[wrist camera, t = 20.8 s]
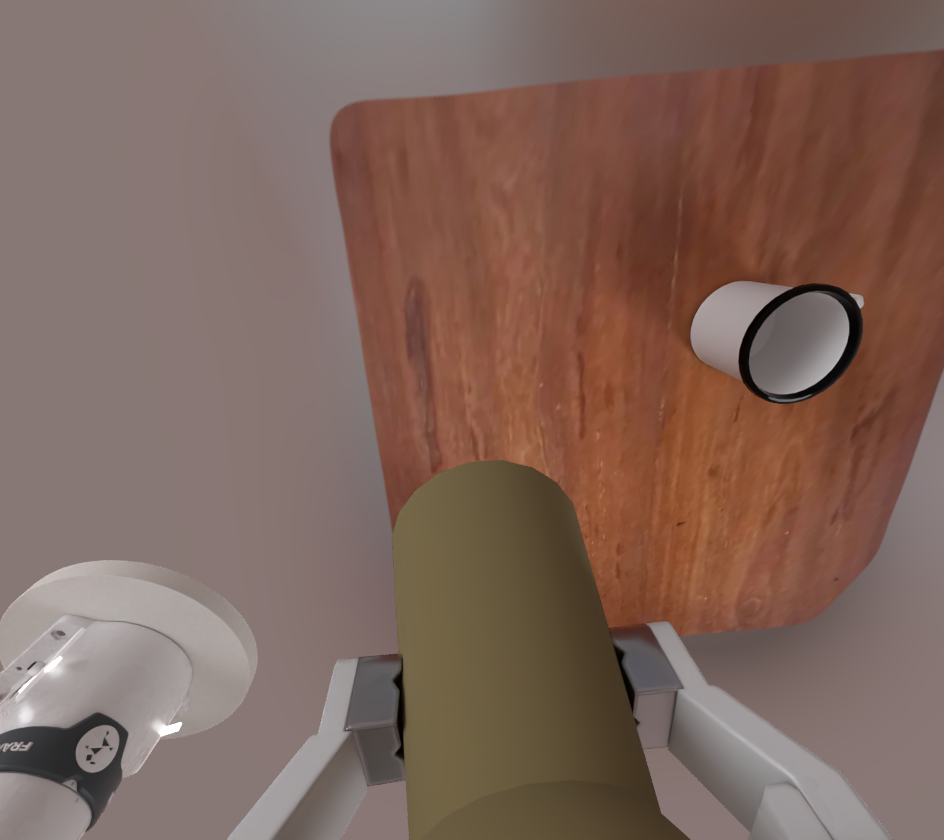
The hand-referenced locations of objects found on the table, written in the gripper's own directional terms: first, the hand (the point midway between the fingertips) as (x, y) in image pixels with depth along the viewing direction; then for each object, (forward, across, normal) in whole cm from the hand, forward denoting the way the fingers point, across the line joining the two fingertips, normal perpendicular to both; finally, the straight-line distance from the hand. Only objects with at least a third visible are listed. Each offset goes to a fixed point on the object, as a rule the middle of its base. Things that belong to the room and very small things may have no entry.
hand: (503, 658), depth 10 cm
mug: (+33, -28, 0) cm, 43 cm away
